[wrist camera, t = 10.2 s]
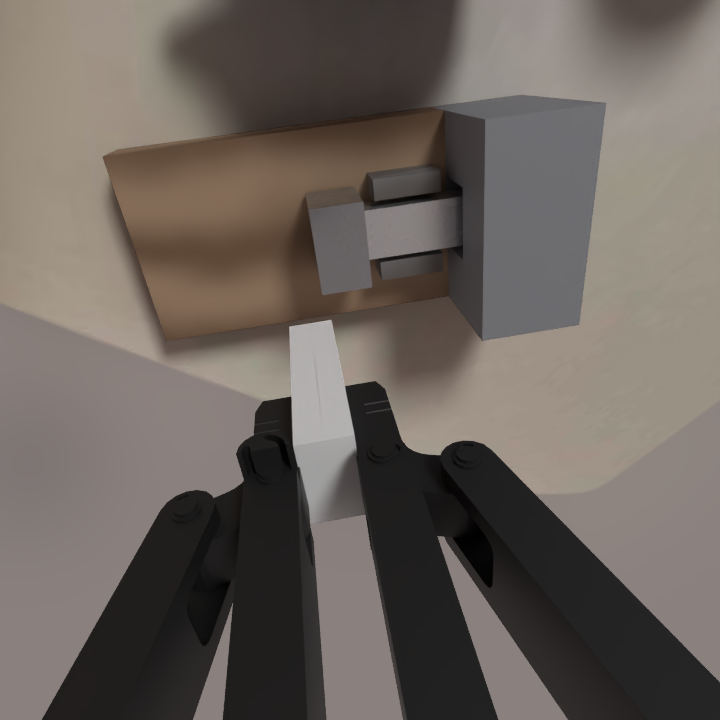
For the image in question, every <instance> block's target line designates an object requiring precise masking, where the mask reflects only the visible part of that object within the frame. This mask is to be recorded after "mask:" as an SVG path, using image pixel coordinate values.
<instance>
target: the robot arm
mask: <svg viewBox="0 0 720 720" xmlns="http://www.w3.org/2000/svg"><path fill="white" fill-rule="evenodd" d="M289 334H290V366H291V397H286V398H280V399H275V400H269V401H263V402H262V404H261V405H260V406H259V408H258V409H257V411H256V412H255V426H254V436H252V437H250V438H248V439H247V440H245V441H244V442H243V443H242V444H241V445H240V446H239V448H238V451H237V453H236V455H237V458H238V462H239V465H240V468H241V471H242V474H243V477H244V482H242V484H240V485H239V486H238V487H236V488H235V489H233V490H231V491H229V492H227V493H225V494H222V495H220V496H218V497H215V498H213V497H212V495H210V494H209V493H207V492H205V491H199V490H194V491H188V492H185V493H182V494H180V495H177V496H176V497H174V498H173V499H172V500H170V501H169V502H167V503H166V505H165V506H164V507H163V508H162V509H161V511H160V512H159V514H158V516H157V518H156V519H155V521H154V523H153V525H152V526H151V528H150V530H149V532H148V534H147V535H146V537H145V539H144V541H143V542H142V544H141V546H140V548H139V549H138V551H137V553H136V555H135V556H134V559H133V560H132V562H131V563H130V565H129V567H128V569H127V571H126V572H125V574H124V576H123V578H122V579H121V581H120V583H119V585H118V587H117V588H116V590H115V592H114V594H113V595H112V597H111V599H110V601H109V602H108V604H107V606H106V608H105V610H104V611H103V613H102V615H101V616H100V618H99V620H98V622H97V623H96V625H95V627H94V629H93V630H92V632H91V634H90V636H89V638H88V640H87V641H86V643H85V645H84V646H83V648H82V650H81V652H80V653H79V655H78V657H77V659H76V660H75V662H74V664H73V666H72V667H71V669H70V671H69V673H68V675H67V676H66V678H65V680H64V682H63V683H62V685H61V687H60V689H59V690H58V692H57V694H56V696H55V697H54V699H53V701H52V703H51V704H50V706H49V708H48V710H47V712H46V714H45V715H44V717H43V719H42V720H193V717H194V715H195V712H196V708H197V706H198V703H199V700H200V697H201V694H202V691H203V688H204V685H205V682H206V679H207V676H208V674H209V671H210V668H211V665H212V662H213V659H214V656H215V653H216V650H217V647H218V644H219V641H220V638H221V635H222V632H223V629H224V626H225V624H226V621H227V618H228V615H229V612H230V609H231V606H232V603H233V610H232V622H231V633H230V644H229V656H228V667H227V679H226V690H225V701H224V712H223V720H326V708H325V694H324V681H323V666H322V652H321V639H320V625H319V612H318V597H317V583H316V570H315V555H314V541H313V537H312V532H311V528H310V521H311V524H316V523H321V522H327V521H332V520H337V519H343V518H348V517H354V516H359V515H364V514H366V520H367V526H368V533H369V540H370V546H371V550H372V554H373V560H374V565H375V570H376V576H377V581H378V586H379V592H380V597H381V603H382V608H383V613H384V618H385V624H386V630H387V635H388V640H389V646H390V651H391V657H392V662H393V667H394V673H395V678H396V684H397V689H398V694H399V699H400V705H401V711H402V716H403V720H498V718H497V715H496V712H495V709H494V706H493V703H492V700H491V697H490V694H489V691H488V687H487V684H486V682H485V678H484V675H483V672H482V669H481V667H480V663H479V661H478V658H477V654H476V651H475V648H474V645H473V642H472V639H471V636H470V633H469V630H468V627H467V624H466V621H465V618H464V615H463V612H462V609H461V606H460V603H459V600H458V597H457V594H456V591H455V588H454V585H453V582H452V579H451V576H450V573H449V570H448V567H447V564H446V561H445V558H444V555H443V552H442V549H441V546H440V543H439V540H438V537H437V536H444V537H445V539H446V542H447V543H448V545H449V546H450V548H451V549H452V550H453V552H454V553H455V555H456V556H457V558H458V559H459V561H460V562H461V564H462V565H463V567H464V568H465V569H466V571H467V572H468V574H469V575H470V577H471V578H472V580H473V581H474V583H475V584H476V585H477V587H478V588H479V590H480V591H481V593H482V594H483V596H484V597H485V599H486V600H487V602H488V603H489V605H490V606H491V608H492V609H493V610H494V612H495V613H496V615H497V616H498V618H499V619H500V620H501V622H502V624H503V625H504V626H505V628H506V629H507V631H508V632H509V634H510V635H511V637H512V638H513V640H514V641H515V643H516V644H517V646H518V647H519V648H520V650H521V651H522V653H523V654H524V656H525V657H526V658H527V660H528V662H529V663H530V665H531V666H532V668H533V669H534V670H535V672H536V673H537V675H538V676H539V678H540V679H541V681H542V682H543V684H544V685H545V686H546V688H547V689H548V691H549V692H550V694H551V695H552V697H553V698H554V700H555V701H556V703H557V704H558V705H559V707H560V708H561V710H562V711H563V712H564V714H565V716H566V717H567V719H568V720H720V682H719V681H718V680H717V679H716V678H715V677H714V676H713V675H712V674H711V673H710V672H709V671H708V670H707V669H706V668H705V667H704V666H703V665H702V664H701V663H700V662H699V661H698V660H697V659H696V658H695V657H694V656H693V655H692V654H691V653H690V652H689V651H688V650H687V649H686V648H685V647H684V645H683V644H682V643H681V642H679V641H678V639H677V638H676V637H675V636H673V634H672V633H671V632H670V631H669V630H668V629H667V628H666V627H665V626H664V625H663V624H662V623H661V622H660V621H659V620H658V619H657V618H656V617H655V616H654V615H653V614H652V613H651V612H650V611H649V610H648V609H647V608H646V607H645V606H644V605H643V604H642V603H641V602H640V601H639V600H638V599H637V598H636V597H635V596H634V595H633V594H632V593H631V592H630V591H629V590H628V588H627V587H625V585H624V584H623V583H622V582H621V581H620V580H619V579H618V578H616V576H615V575H614V574H613V573H612V572H611V571H610V570H609V569H608V568H607V567H606V566H605V565H604V564H603V563H602V562H601V561H600V560H599V559H598V558H597V557H596V556H595V555H594V554H593V553H592V552H591V551H590V550H589V549H588V548H587V547H586V546H585V545H584V544H583V543H582V542H581V541H580V540H579V539H578V538H577V537H576V536H575V535H574V534H573V533H572V531H570V529H569V528H568V527H567V526H566V525H565V524H564V523H563V522H562V521H561V520H560V519H558V517H557V516H556V515H555V514H554V513H553V512H552V511H551V510H550V509H549V508H548V507H547V506H546V505H545V504H544V503H543V502H542V501H541V500H540V499H539V498H538V497H537V496H536V495H535V494H534V493H533V492H532V491H531V490H530V489H529V488H528V487H527V486H526V485H525V484H524V483H523V482H522V481H521V480H520V479H519V478H518V477H517V476H516V474H515V473H514V472H513V471H512V470H511V469H510V468H509V467H508V466H507V465H506V464H505V463H504V462H503V461H502V460H501V459H500V458H499V457H498V456H497V455H496V454H495V453H494V452H493V451H492V450H491V449H489V448H488V447H487V446H485V445H484V444H481V443H478V442H475V441H460V442H455V443H452V444H451V445H449V446H447V447H446V448H445V449H444V450H443V451H442V453H441V455H427V454H421V453H418V452H415V451H413V450H411V449H409V448H408V447H407V446H406V445H405V443H403V441H402V439H401V437H400V434H399V431H398V427H397V424H396V421H395V418H394V415H393V412H392V410H391V406H390V403H389V401H388V397H387V394H386V391H385V389H384V388H383V387H382V386H381V385H379V384H378V383H377V382H376V381H374V382H368V383H362V384H356V385H350V386H345V385H344V380H343V375H342V370H341V365H340V360H339V355H338V350H337V345H336V340H335V335H334V330H333V325H332V321H331V320H327V321H321V322H315V323H309V324H302V325H296V326H290V327H289Z"/></svg>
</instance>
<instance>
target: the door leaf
mask: <svg viewBox="0 0 720 720" xmlns="http://www.w3.org/2000/svg"><path fill="white" fill-rule="evenodd" d="M103 159H104V162H105V165H106V168H107V171H108V174H109V177H110V180H111V182H112V185H113V188H114V191H115V194H116V197H117V200H118V203H119V205H120V208H121V211H122V214H123V217H124V220H125V223H126V226H127V228H128V231H129V234H130V237H131V240H132V243H133V246H134V249H135V251H136V254H137V257H138V260H139V263H140V266H141V269H142V272H143V275H144V277H145V280H146V283H147V286H148V289H149V292H150V295H151V298H152V300H153V303H154V306H155V309H156V312H157V315H158V318H159V321H160V323H161V326H162V329H163V332H164V335H165V338H166V341H169V340H175V339H181V338H188V337H194V336H200V335H207V334H213V333H219V332H225V331H232V330H238V329H244V328H251V327H257V326H263V325H269V324H276V323H282V322H288V321H294V320H301V319H307V318H313V317H320V316H326V315H332V314H338V313H345V312H351V311H357V310H364V309H370V308H376V307H382V306H389V305H395V304H401V303H408V302H414V301H420V300H426V299H433V298H439V297H445V296H449V284H448V248H443V249H437V250H430V251H424V252H417V253H411V254H404V255H398V256H391V257H385V258H378V259H372V260H370V269H371V278H372V288H365V289H359V290H353V291H346V292H340V293H333V294H327V295H322V291H321V285H320V280H319V274H318V269H317V263H316V256H315V250H314V244H313V238H312V232H311V226H310V219H309V213H308V207H307V201H306V195H305V193H308V192H315V191H322V190H329V189H336V188H343V187H350V186H354V188H355V189H356V191H357V192H358V194H359V196H360V197H361V199H362V200H363V201H368V200H374V201H379V200H386V199H393V198H400V197H406V196H413V195H420V194H427V193H434V192H441V190H444V189H446V156H445V114H444V110H442V109H437V108H433V107H429V108H421V109H414V110H407V111H399V112H392V113H385V114H377V115H370V116H362V117H355V118H348V119H340V120H333V121H326V122H318V123H311V124H304V125H296V126H289V127H281V128H274V129H267V130H259V131H252V132H245V133H237V134H230V135H222V136H215V137H208V138H200V139H193V140H186V141H178V142H171V143H164V144H156V145H149V146H141V147H134V148H127V149H119V150H116V151H114V152H112V153H109V154H107V155H105V156H103Z"/></svg>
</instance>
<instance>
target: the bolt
mask: <svg viewBox="0 0 720 720" xmlns="http://www.w3.org/2000/svg"><path fill="white" fill-rule="evenodd" d="M305 195H306V201H307V207H308V213H309V219H310V226H311V232H312V238H313V244H314V250H315V256H316V263H317V269H318V274H319V280H320V285H321V291H322V295H327V294H333V293H340V292H346V291H353V290H359V289H365V288H372V278H371V269H370V260H372V259H378V258H385V257H391V256H398V255H404V254H411V253H417V252H424V251H430V250H437V249H443V248H450V247H457V246H463V187H457V188H451V189H444V190H441V192H434V193H427V194H420V195H413V196H406V197H400V198H393V199H386V200H379V201H374V200H368V201H363V200H362V199H361V197H360V196H359V194H358V192H357V191H356V189H355V188H354V186H350V187H343V188H336V189H329V190H322V191H315V192H308V193H305Z"/></svg>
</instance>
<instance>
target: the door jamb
mask: <svg viewBox="0 0 720 720" xmlns="http://www.w3.org/2000/svg"><path fill="white" fill-rule="evenodd" d="M433 108H437V109H442V110H444V114H445V156H446V189H451V188H457V187H463V246H457V247H450V248H448V284H449V297H450V298H451V300H452V301H453V302H454V304H455V305H456V306H457V308H458V309H459V310H460V312H461V313H462V314H463V316H464V317H465V318H466V320H467V321H468V322H469V324H470V325H471V326H472V328H473V329H474V330H475V332H476V333H477V334H478V336H479V337H480V338H481V340H482V341H484V340H490V339H496V338H502V337H509V336H515V335H521V334H527V333H533V332H539V331H545V330H551V329H557V328H563V327H569V326H575V325H579V321H580V313H581V305H582V296H583V288H584V280H585V272H586V264H587V256H588V247H589V239H590V231H591V223H592V215H593V206H594V198H595V190H596V182H597V174H598V165H599V157H600V149H601V141H602V133H603V125H604V116H605V108H606V103H601V102H591V101H580V100H569V99H559V98H548V97H538V96H527V95H517V96H510V97H503V98H495V99H488V100H480V101H473V102H466V103H458V104H451V105H444V106H436V107H433Z"/></svg>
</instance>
